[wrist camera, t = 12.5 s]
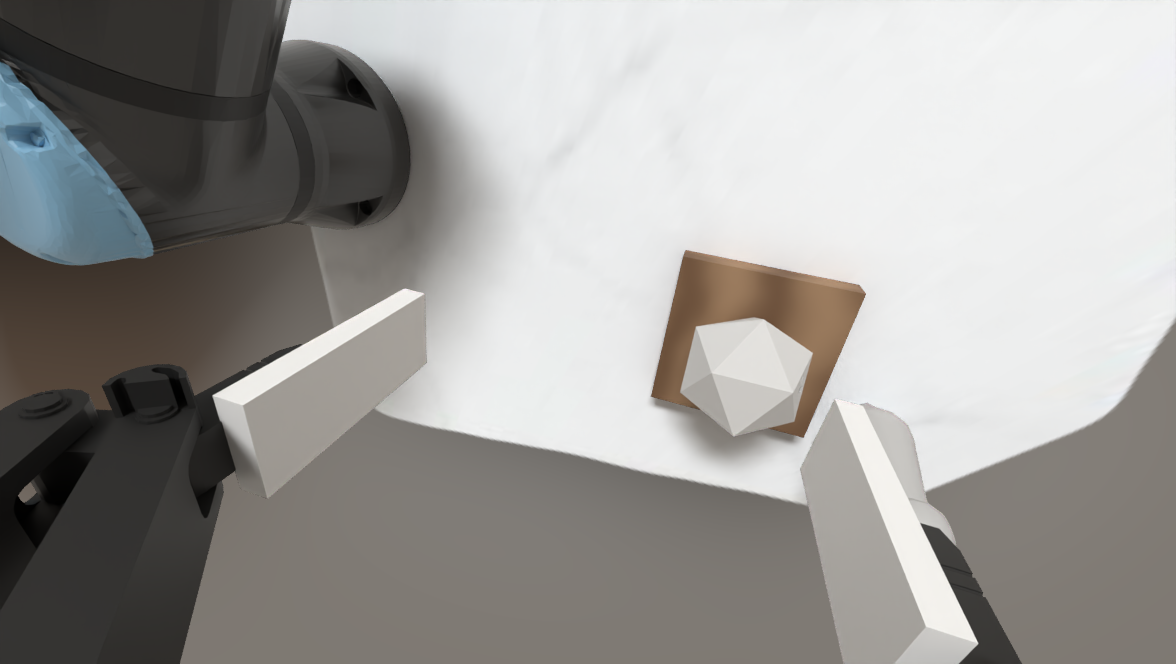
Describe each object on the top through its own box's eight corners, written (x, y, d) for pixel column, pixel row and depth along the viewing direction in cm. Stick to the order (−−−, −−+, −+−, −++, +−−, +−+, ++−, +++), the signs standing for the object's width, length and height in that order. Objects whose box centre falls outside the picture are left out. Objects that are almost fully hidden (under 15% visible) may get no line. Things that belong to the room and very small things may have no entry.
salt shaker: (849, 462, 40) (895, 597, 28) (809, 416, 39) (840, 535, 28) (918, 432, 37) (999, 569, 26) (876, 382, 36) (941, 499, 25)
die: (737, 411, 39) (826, 459, 30) (650, 399, 36) (720, 449, 27) (761, 319, 38) (860, 340, 29) (673, 299, 35) (754, 317, 26)
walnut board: (654, 385, 42) (651, 396, 40) (685, 250, 36) (683, 256, 35) (800, 423, 40) (803, 437, 38) (859, 285, 34) (865, 293, 32)
